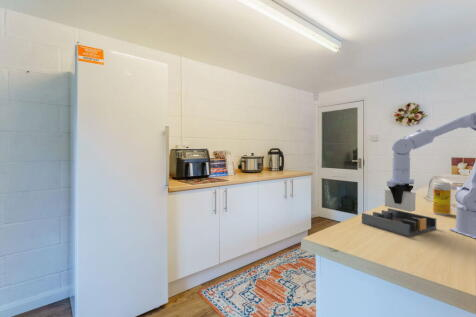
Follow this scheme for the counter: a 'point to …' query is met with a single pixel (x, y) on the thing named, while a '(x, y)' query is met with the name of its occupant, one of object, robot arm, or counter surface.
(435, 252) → the counter surface
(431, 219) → the rack
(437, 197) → the beer can
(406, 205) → the white rectangular block
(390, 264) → the counter surface
